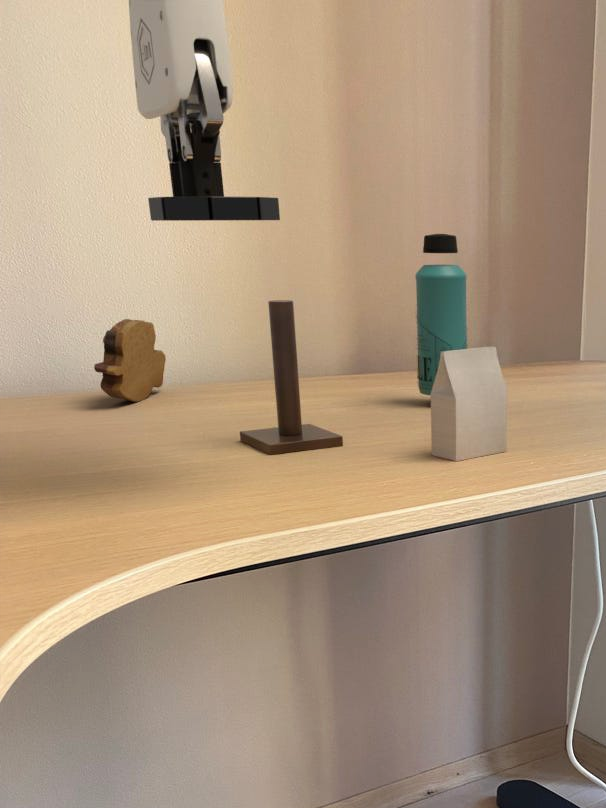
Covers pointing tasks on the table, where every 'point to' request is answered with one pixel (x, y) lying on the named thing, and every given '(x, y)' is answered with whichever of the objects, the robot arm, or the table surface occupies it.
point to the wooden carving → (131, 361)
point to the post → (287, 394)
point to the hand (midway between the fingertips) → (200, 216)
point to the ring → (213, 208)
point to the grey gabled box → (468, 405)
